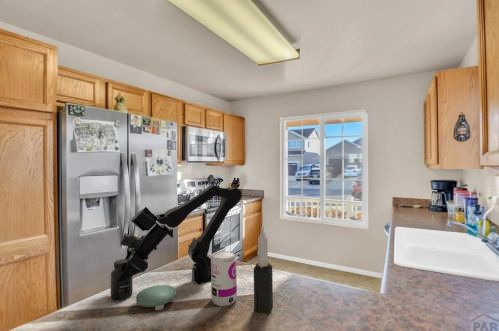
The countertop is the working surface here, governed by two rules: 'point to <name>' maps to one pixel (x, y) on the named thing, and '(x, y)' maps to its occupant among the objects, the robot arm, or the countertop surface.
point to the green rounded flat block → (156, 296)
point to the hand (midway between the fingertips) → (118, 275)
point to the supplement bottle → (120, 288)
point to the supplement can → (223, 278)
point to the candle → (263, 278)
